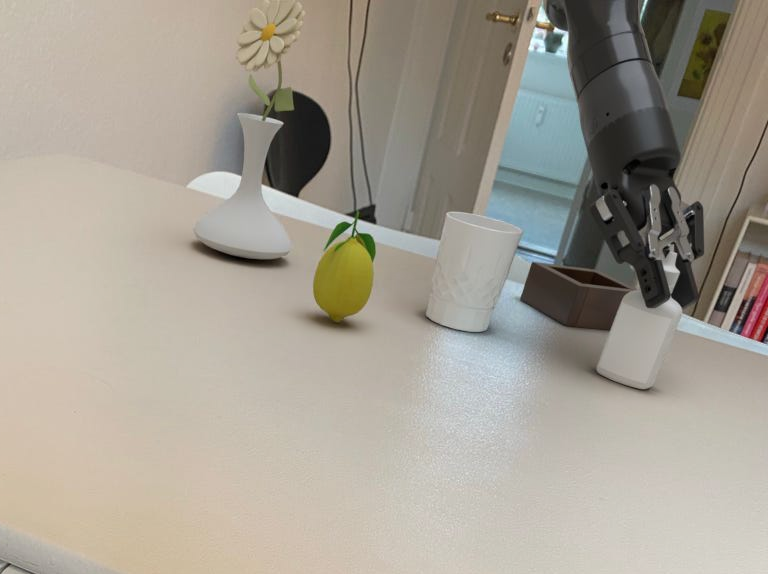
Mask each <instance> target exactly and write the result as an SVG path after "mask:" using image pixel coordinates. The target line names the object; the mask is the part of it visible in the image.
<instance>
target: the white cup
mask: <svg viewBox="0 0 768 574" xmlns="http://www.w3.org/2000/svg"><path fill="white" fill-rule="evenodd" d="M523 233H524V231H523V229H522V228H520V227H518V226H517V225H514V224H511V223H509V222H506V221H503V220H500V219H496V218H493V217H489V216H484V215H479V214H475V213H470V212H464V211H463V212H462V211H448V212H446V213H445V218H444V221H443V226H442V231H441V235H440V239H439V244H438V249H437V254H436V258H435V264H434V268H433V272H432V280H431V283H430V290H431V291H430V292H429V298H428V303H427V307H426V313H425V316H426V317H427V318H428V319H429V320H430V321H432V322H434V323H436V324H438V325H441V326H444V327H446V328H450V329H454V330H458V331H465V332H472V333H481V332H484V331H487V330H488V328H489V325H490V322H491V319H492V316H493V313H494V311H495V307H496V305H497V304H498V302H499V300H500V297H501V294H502V293H503V289H504V286H505V283H506V281H507V279H508V276H509V273H510V270H511V267H512V264H513V261H514V258H515V256H516V253H517V251H518V247H519V244H520V241H521V239H522V236H523Z"/></svg>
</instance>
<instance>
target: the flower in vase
mask: <svg viewBox="0 0 768 574" xmlns="http://www.w3.org/2000/svg"><path fill="white" fill-rule="evenodd" d="M305 16H306V11H305V10H303V6H302V4H301V3H300V2H299V1H297V2H296V0H263V1H262V2H261V3H260V8H257V7H254V8H252V9H251V10H250V11H249V19H250V20H249V19H248V20H246V21H245V22H244V23H243V25H242V30H241V32H240V34H239V35H238V36H237V38H236V43H237V44H238V46H239V47H240V48H238V49H237V51H236V53H235V59H236V60H237V62H238V63H239V64H240V65H241V66H244V70H245V72H251V71H253V72H258V71H260V70H261V69H262V68H264V69H265V70H268V69H269V68H270V67H272V66H273V65H274V64H277V73H278V83H277V88H276V91H275V93H274V95H273V97H272V99H271V101H270V98H269V97H268V95H267V94H266V93H265V92H264V91H263V90H262V89H261V88H260V87H259V86H258V85H257V83H256V81H255V80H254V77H253V76H252V73H250V74H249V76H248V85H249V87H250V88H251V90H252V91H253V92H254V93H255V94H256V96H258V97H259V99H260V100H261V101H262V102H263V103H264V104H265V105H266V106H267V108H266V109H265V112H264V114H263V115H260V114H259V115H258V114H252V113H247V112H238V113H237V114H236V115H237V118H238V120H239V123H240V125H241V129H242V134H243V145H244V148H243V165H242V172H241V178H240V181H239V185H238V187H237V189H236V191H235V192H234V193H233V194H232V195H231V196H230V197H229V198H227V199H226V200H224V201H223V202H221V203H220V204H218V205H216V206H215V207H213V208H212V209H210V210H208V211H207V212H205V214H203V215H202V216H201V217H200V218H199V219H198V220H197V221H196V222H195V224H194V226H193V229H192V231H193V233H194V235H195V237H196V239H198V240H199V241H200V242H201V243H202V244H204V245H206V246H207V247H208V248H211V249H213V250H216V251H218V252H221V253H224V254H227V255H230V256H234V257H238V258H244V259H250V260H275V259H279V258H282V257H286V256H288V254H290V252H291V251H292V250H293V244H292V240H291V238H290V235H289V234H288V232H287V230H286V229H285V227H284V226H283V225H282V223H281V222H280V221H279V220H278V218H277V217H276V215H275V214H274V213H273V212H272V210H271V209H270V208H269V206H268V205H267V203H266V201H265V198H264V195H263V191H262V190H263V187H262V186H263V185H262V182H263V174H264V169H265V163H266V159H267V155H268V152H269V149H270V147H271V143H272V141H273V139H274V138H275V135H276V134H277V132H278V131H279V130H280V129H281V128H282V127H283V125H284V122H283V121H281V120H278V119H275V118H272V117H268V115H269V113H270V111H271V109H272V108H273V106H274V111H275V112H284V111H294V110H295V106H294V98H293V88H292V86H288V87H284V88H282V84H283V71H282V69H283V68H282V62H281V61H282V58H283V55H286V54H288V52H289V51H290V49H291V45H293V43H295V42H297V41H298V40H299V38H300V36H301V32H300V30H301V29H302V27H303V25H304V22H303V20H304V18H305ZM281 88H282V89H281Z"/></svg>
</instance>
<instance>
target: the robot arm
mask: <svg viewBox="0 0 768 574" xmlns="http://www.w3.org/2000/svg"><path fill="white" fill-rule="evenodd" d="M542 3H543V4H542V5H543V11H544V14H545V16H546V18H547V20H548V21H549V23H550V24H551V25H552V26H553V27H554V28H555V29H558V30H559V31H563V32H567V34H568V35H567V47H566V49H567V50H566V60H567V68H568V73H569V77H570V81H571V85H572V88H573V93H574V96H575V99H576V103H577V109H578V114H579V115H578V116H579V124H580V130H581V134H582V137H583V140H584V146H585V148H586V153H587V157H588V160H589V164H590V168H591V172H592V175H593V180H594V183H595V187H596V192H597V193H598V195H599V196H600V197H599V198H598V199H597V200H596V201H594V202H593V203H592V204H590V206H589V212H590V214H591V216H592V219H593V220H594V222H595V224H596V226H597V227H598V230H599V232H600V233H601V235H602V237H603V239H604V241H605V243H606V245H607V246H608V249H609V251H610V252H611V254H612V256H613V258H614V260H615V262H616V263H617V264H618V265H622V264H624V263H626V264H628V267H629V269H630V270H631V271H632V272H634V273H636V277H637V281H638V285H639V290H641V293H642V296H643V298H644V301H645V305H646V307H647V308H657V307H658V306H660V305H662V304H663V303H665V302H667V301H668V300H669V299H670V297H671V298H673V299H674V300H675V301H676V302H677V303H678V304H679V305H680V306H681V308H682V311H683V310H685V309H687V308H689V307H690V306H692V305H695V304H696V303H698V301H699V299H700V295H699V290H698V287H697V283H696V279H695V276H694V271H693V268H692V262H694V261H696V260H698V259H700V258H701V257H703V256H704V255H705V228H704V227H705V225H704V224H705V221H704V219H705V218H704V217H705V216H704V206H703V204H702V203H701V202H700V201H698V200H696V201H695V202H693V203H691V204H690V205H689V204H688V203H686V202H684V201H683V200H682V195H681V192H680V189H678V187H677V185H676V182H675V181H674V175H675V173H676V170H677V168H678V167H679V166H680V164H681V163H680V162H681V158H682V155H681V149H680V146H679V142H678V139H677V136H676V135H677V134H676V131H675V128H674V124H673V120H672V117H671V112H670V109H669V106H668V102H667V98H666V94H665V90H664V88H663V85H662V83H661V80H660V78H659V76H658V74H657V72H656V69H655V66H654V63H653V59H652V56H651V52H650V48H649V45H648V40H647V38H646V37H647V36H646V34H645V31H644V28H643V26H642V21H641V11H640V0H542ZM672 230H673V231H672ZM670 231H672V232H671V233H670V234H668V235H667V236H665V237H664V238H662V239H661V237H663V236H664V235H666V234H667V233H669V232H670ZM619 234H620V238H621V241H620V239H619V237H618V236H619ZM671 246H673V252H674V253H677V257H676V262H675V267H676V268H677V269H678V270H679V271H680V274H679V277H678V279H677V282H676V284H675V286H674V289H673V291H672V294H670V290H669V286H668V283H667V279H666V275H665V271H664V268H663V264H662V262H664V260H665V259H666V257H667V255H668V254H669V252H671V249H670V248H671ZM658 258H659V259H658Z"/></svg>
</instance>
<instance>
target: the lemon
mask: <svg viewBox="0 0 768 574" xmlns="http://www.w3.org/2000/svg"><path fill="white" fill-rule="evenodd" d="M359 215H360V212H359V210H356V213H355V218H354V221H353V222H352V223H350V222H348V221H341V222H339V223H337V224H336V226H335V227H334V229H333V230H332V232H331V233H330V236H329V238H328V240H327V242H326V244H325V246H324V249H323V250H322V252H324V254H323V255H322V256H321V258H320V260H319V261H318V264H317V267H316V270H315V273H314V277H313V281H312V282H313V283H312V293H313V298H314V300H315V303H316V304H317V306H318V307H319V308H320V309H321V310H322V311H324V312H325V313H326V314H327V315H328V316H329V318H330V319H331V321H332V322H334V323H340V322H341V321H342V320H344V318H347V317H350V316H354V315H356V314H358V313H360V312H361V311H362V310H363V309H364V307H365V306H366V304H367V303H368V301H369V300H370V296H371V294H372V289H373V285H374V273H375V272H374V264H373V263H374V260H375V258H376V253H377V249H376V242H375V240H374V237H373V236H372V235H371V234H370V233H367V232H366V233H365V232H359V231H358V229H357V223H358V221H359ZM351 227H352V231H351V235H350V236H348V237H347V238H346V239H345V240H342V241H338V242H336V243H334V244H332V243H333V242H334V241H335V240H336V239H337V238H339V236H340V235H342V234H343V233H345V232H346V231H348V229H349V228H351ZM355 233H356V235H355ZM331 244H332V245H331ZM330 245H331V246H330ZM329 246H330V247H329ZM327 248H328V249H327Z"/></svg>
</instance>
